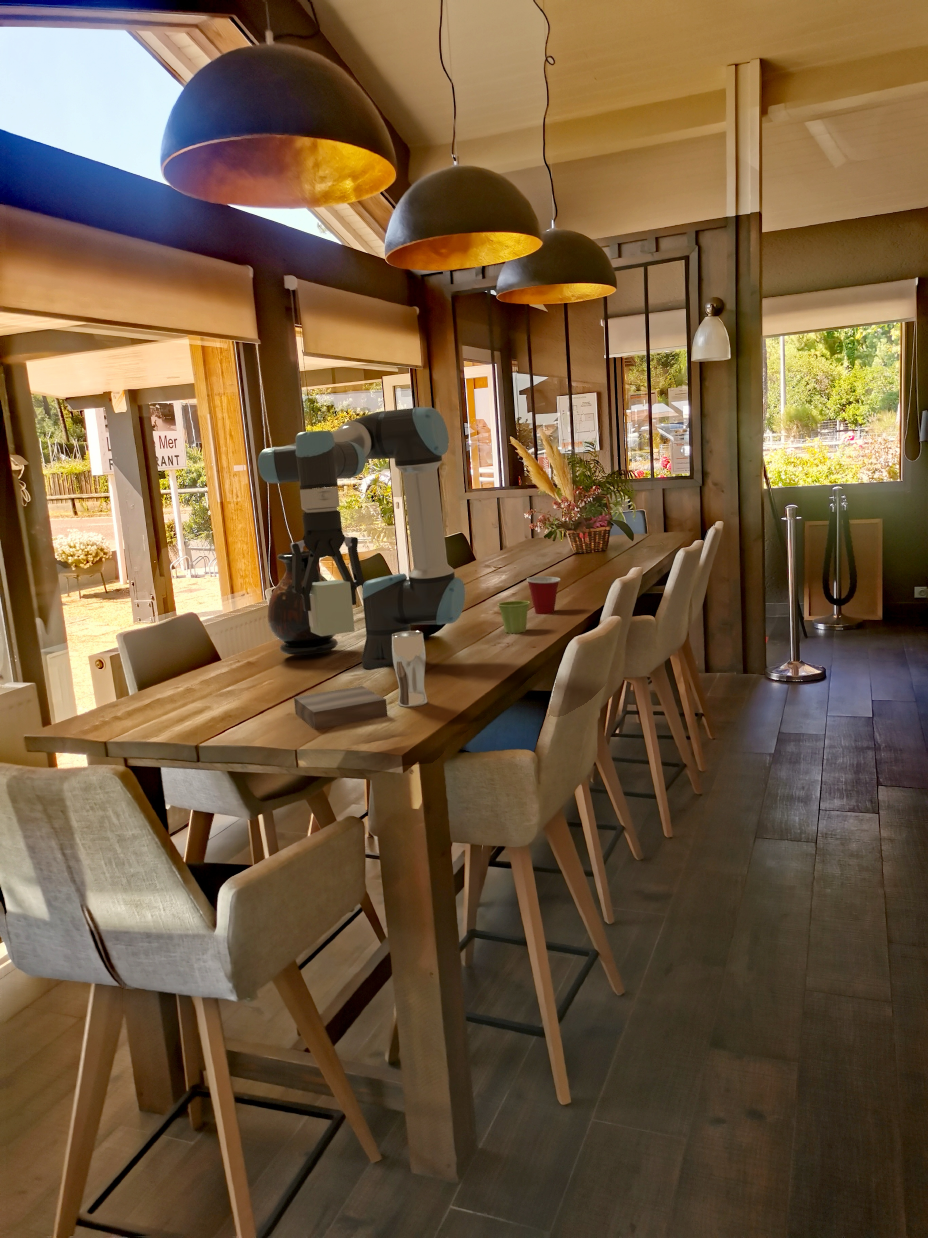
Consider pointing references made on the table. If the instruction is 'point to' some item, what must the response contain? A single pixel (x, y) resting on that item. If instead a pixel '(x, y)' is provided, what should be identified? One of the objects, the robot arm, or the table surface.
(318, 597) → the sage block
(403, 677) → the beer glass
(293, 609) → the amphora vase
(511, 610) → the plant pot
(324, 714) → the walnut block
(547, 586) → the plastic cup
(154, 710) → the table surface
